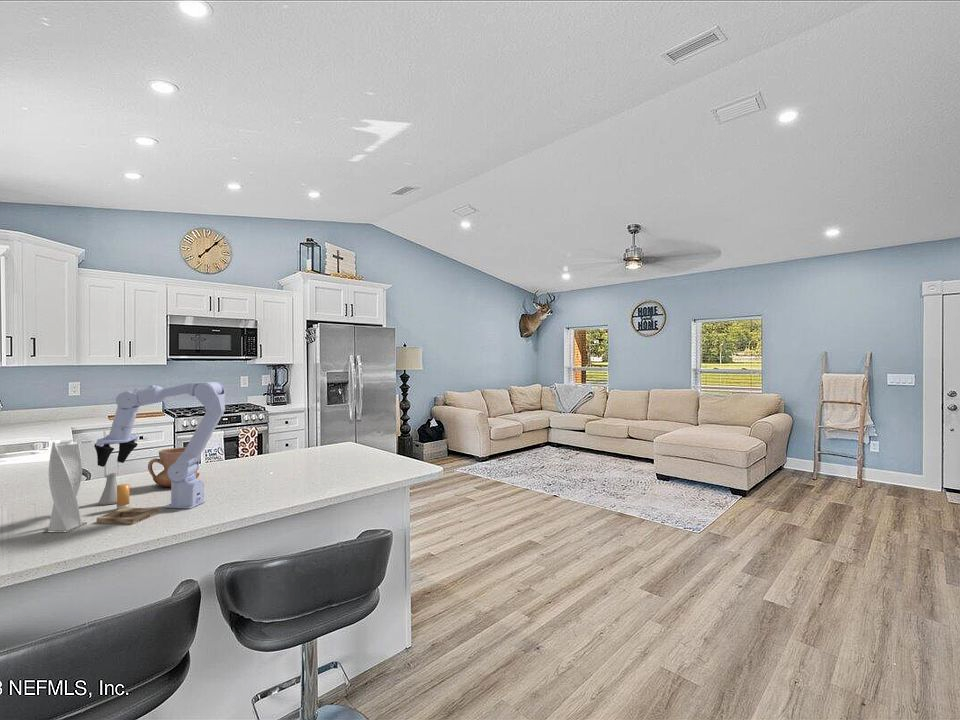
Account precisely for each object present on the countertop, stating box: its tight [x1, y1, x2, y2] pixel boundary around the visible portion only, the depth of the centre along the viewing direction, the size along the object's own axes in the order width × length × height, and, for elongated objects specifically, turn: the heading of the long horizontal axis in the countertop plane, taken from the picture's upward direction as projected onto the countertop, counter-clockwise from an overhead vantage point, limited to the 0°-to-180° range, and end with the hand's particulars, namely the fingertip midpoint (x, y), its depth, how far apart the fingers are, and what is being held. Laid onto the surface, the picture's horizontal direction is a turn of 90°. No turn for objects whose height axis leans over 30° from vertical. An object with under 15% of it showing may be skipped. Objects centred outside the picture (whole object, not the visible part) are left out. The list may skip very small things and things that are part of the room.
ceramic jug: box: [147, 446, 200, 488], centre depth 185 cm, size 18×14×14 cm
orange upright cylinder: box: [116, 483, 131, 510], centre depth 155 cm, size 3×3×8 cm
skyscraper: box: [43, 434, 88, 533], centre depth 137 cm, size 8×8×28 cm
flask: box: [97, 472, 119, 506], centre depth 162 cm, size 7×7×10 cm
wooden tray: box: [96, 507, 159, 525], centre depth 147 cm, size 12×10×2 cm
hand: (110, 463), depth 156 cm, fingers open, 7 cm apart
